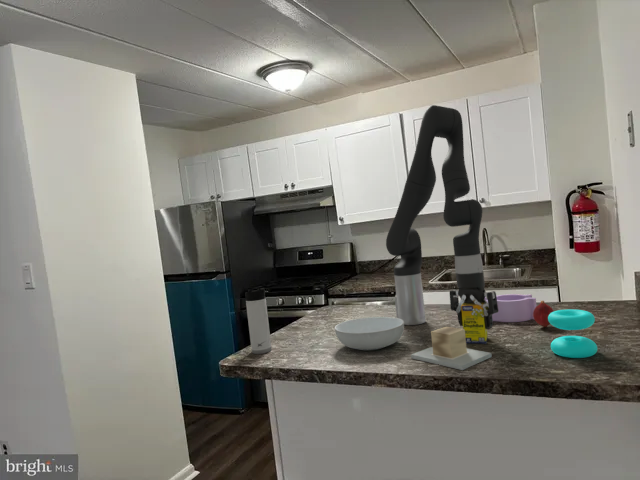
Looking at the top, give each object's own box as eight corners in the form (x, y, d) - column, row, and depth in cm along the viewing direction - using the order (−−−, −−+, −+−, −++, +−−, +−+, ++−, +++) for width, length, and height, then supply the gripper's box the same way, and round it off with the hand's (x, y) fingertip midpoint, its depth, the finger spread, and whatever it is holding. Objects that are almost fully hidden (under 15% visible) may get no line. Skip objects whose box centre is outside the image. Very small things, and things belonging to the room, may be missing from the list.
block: (433, 354, 118) (430, 331, 117) (447, 348, 121) (445, 326, 121) (452, 358, 113) (449, 334, 112) (466, 352, 116) (464, 329, 116)
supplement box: (464, 343, 127) (460, 305, 127) (466, 338, 133) (463, 301, 132) (486, 344, 125) (482, 305, 125) (488, 338, 130) (484, 300, 130)
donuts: (597, 309, 110) (590, 318, 103) (601, 349, 111) (593, 361, 103) (552, 307, 117) (542, 316, 109) (556, 345, 117) (546, 357, 110)
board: (411, 358, 120) (411, 354, 120) (440, 347, 127) (440, 343, 127) (462, 370, 107) (461, 365, 107) (491, 356, 114) (491, 352, 114)
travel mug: (264, 354, 139) (256, 290, 138) (247, 353, 142) (240, 290, 142) (276, 348, 144) (269, 286, 143) (260, 347, 148) (253, 287, 147)
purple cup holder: (473, 324, 148) (471, 303, 148) (470, 316, 160) (468, 296, 160) (539, 321, 143) (537, 299, 143) (531, 312, 155) (530, 292, 155)
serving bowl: (420, 340, 136) (417, 318, 135) (377, 361, 121) (374, 335, 121) (366, 334, 150) (363, 313, 150) (322, 351, 135) (319, 329, 135)
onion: (558, 329, 132) (555, 301, 131) (537, 330, 133) (534, 303, 132) (552, 324, 137) (550, 298, 137) (532, 325, 138) (529, 299, 138)
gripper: (440, 272, 132) (447, 327, 132) (483, 272, 121) (490, 332, 121) (456, 268, 137) (462, 321, 137) (499, 268, 125) (506, 326, 125)
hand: (475, 326), depth 129 cm, fingers closed on supplement box, 8 cm apart
